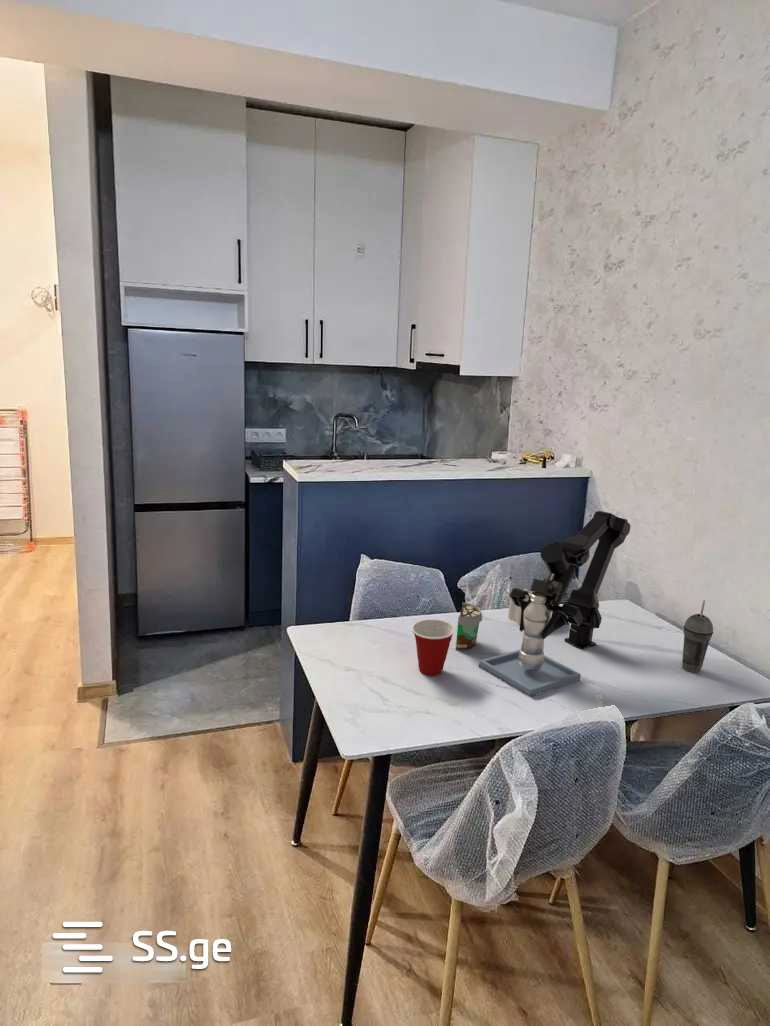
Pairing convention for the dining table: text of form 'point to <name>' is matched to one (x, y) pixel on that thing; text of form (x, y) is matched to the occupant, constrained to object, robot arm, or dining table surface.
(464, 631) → the food container
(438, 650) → the plastic cup
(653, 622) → the dining table surface
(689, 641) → the beverage cup
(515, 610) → the beige lumpy box
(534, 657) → the plastic bottle
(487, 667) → the blue-gray tray
